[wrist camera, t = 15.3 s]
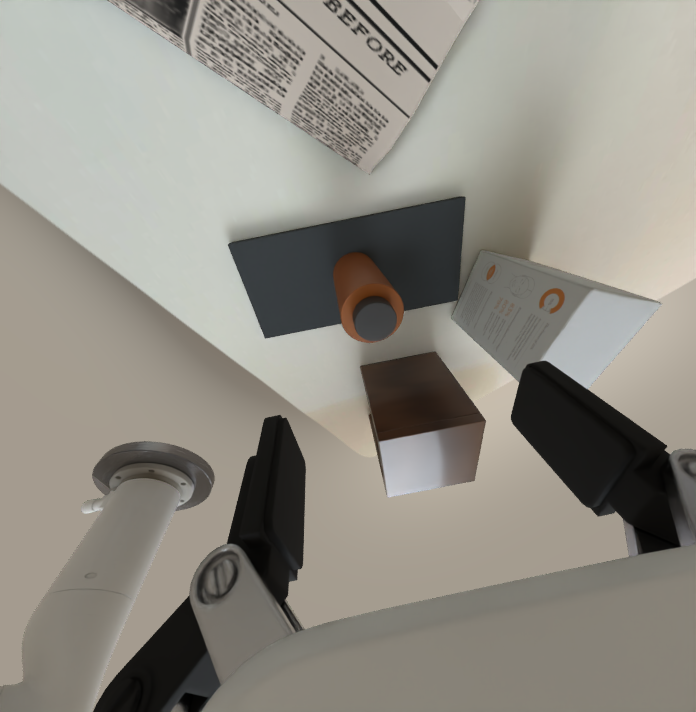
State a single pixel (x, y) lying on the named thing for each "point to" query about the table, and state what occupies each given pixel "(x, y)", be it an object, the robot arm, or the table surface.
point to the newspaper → (320, 59)
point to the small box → (547, 316)
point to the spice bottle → (366, 299)
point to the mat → (334, 240)
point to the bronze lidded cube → (422, 424)
